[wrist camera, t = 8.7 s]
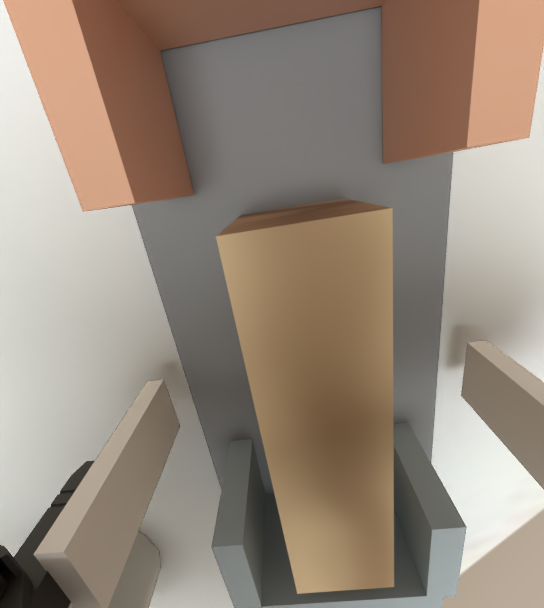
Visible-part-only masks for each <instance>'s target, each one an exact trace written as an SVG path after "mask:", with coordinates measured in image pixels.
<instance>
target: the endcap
mask: <svg viewBox="0 0 544 608" xmlns="http://www.w3.org/2000/svg"><path fill="white" fill-rule="evenodd" d="M3 1H4V4H5V6H6V9H7V12H8V14H9V17H10V20H11V22H12V25H13V28H14V30H15V33H16V35H17V38H18V41H19V43H20V46H21V49H22V51H23V54H24V57H25V59H26V62H27V65H28V67H29V70H30V73H31V75H32V78H33V80H34V83H35V86H36V88H37V91H38V94H39V96H40V99H41V102H42V104H43V107H44V110H45V112H46V115H47V117H48V120H49V123H50V125H51V128H52V131H53V133H54V136H55V139H56V141H57V144H58V147H59V149H60V152H61V155H62V157H63V160H64V162H65V165H66V168H67V170H68V173H69V176H70V178H71V181H72V184H73V186H74V189H75V192H76V194H77V197H78V200H79V202H80V205H81V207H82V210H83V212H84V211H91V210H98V209H105V208H112V207H120V206H127V205H134V204H141V203H149V202H156V201H163V200H169V199H175V198H181V197H187V196H193V195H194V192H193V188H192V183H191V179H190V175H189V171H188V166H187V162H186V158H185V154H184V150H183V145H182V141H181V137H180V133H179V128H178V124H177V120H176V116H175V112H174V107H173V103H172V99H171V95H170V90H169V86H168V82H167V78H166V73H165V69H164V65H163V61H162V57H161V52H160V51H161V50H166V49H171V48H176V47H181V46H186V45H191V44H196V43H201V42H206V41H210V40H215V39H220V38H225V37H230V36H235V35H240V34H245V33H250V32H255V31H260V30H265V29H270V28H275V27H280V26H285V25H290V24H294V23H299V22H304V21H309V20H314V19H319V18H324V17H329V16H334V15H339V14H344V13H349V12H354V11H359V10H364V9H369V8H374V7H378V6H382V109H383V164H387V163H393V162H399V161H405V160H411V159H417V158H422V157H428V156H433V155H438V154H444V153H449V152H454V151H460V150H465V149H471V148H476V147H481V146H487V145H492V144H497V143H503V142H508V141H513V140H519V139H524V138H529V136H530V129H531V123H532V116H533V110H534V103H535V97H536V91H537V84H538V78H539V71H540V65H541V58H542V52H543V46H544V0H3Z"/></svg>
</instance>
